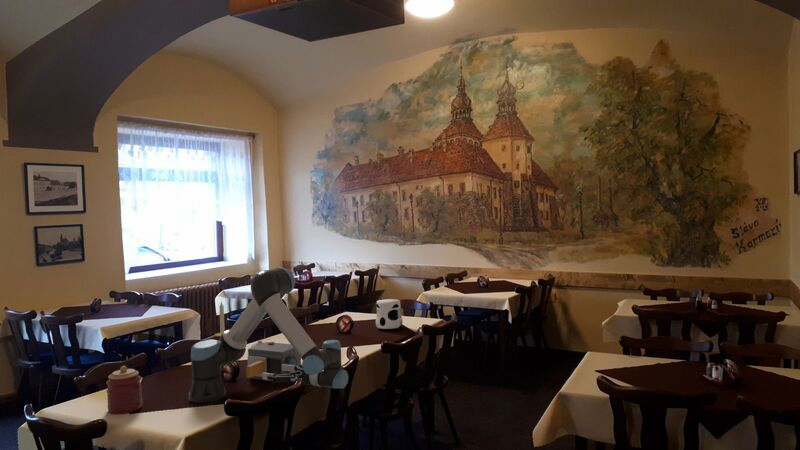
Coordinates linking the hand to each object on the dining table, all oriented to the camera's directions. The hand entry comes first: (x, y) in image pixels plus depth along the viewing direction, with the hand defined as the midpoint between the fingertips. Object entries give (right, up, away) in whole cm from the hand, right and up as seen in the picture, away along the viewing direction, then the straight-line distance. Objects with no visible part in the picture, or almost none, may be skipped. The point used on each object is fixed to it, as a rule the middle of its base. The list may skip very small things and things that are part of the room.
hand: (272, 371), depth 251 cm
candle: (-36, -8, +49) cm, 61 cm away
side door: (-13, -6, +11) cm, 18 cm away
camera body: (-4, -8, +22) cm, 24 cm away
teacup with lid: (-16, -7, +48) cm, 51 cm away
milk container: (+49, -3, +119) cm, 128 cm away
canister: (-56, -11, -17) cm, 60 cm away
